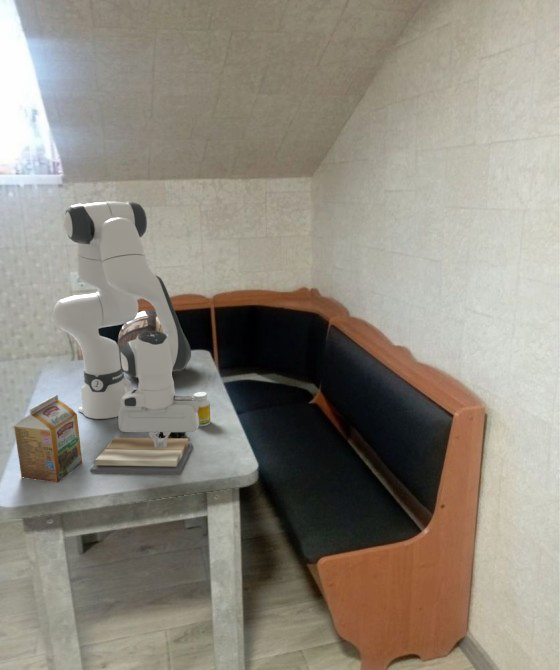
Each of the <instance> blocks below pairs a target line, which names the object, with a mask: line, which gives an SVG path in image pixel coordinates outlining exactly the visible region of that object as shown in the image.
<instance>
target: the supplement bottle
mask: <svg viewBox="0 0 560 670" xmlns="http://www.w3.org/2000/svg"><path fill="white" fill-rule="evenodd" d="M193 398H195V399H196V400H197V401H198V411H197V412H198V418H199V427H207V426H208V425H210V424H211V402H210V400H209V399H208V393H207V392H204V391H198V392H195V393H193Z"/></svg>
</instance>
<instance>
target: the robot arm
mask: <svg viewBox="0 0 560 670" xmlns="http://www.w3.org/2000/svg"><path fill="white" fill-rule="evenodd" d="M63 224H64V225H63V226H64V230H65V232H66V234H67V236H68V238H69V240H71V241H73V242H74V243H77V249H76V250H77V253H76V254H77V275H78V278H79V279H80V280H81V281H82V282H83V283H84V284H86V285H87V286H90V287H93V288H96V289H97V291H96V292H93V293H84V294H75V295H71V296H67V297H64V298H61V299H59V300H57V302H56V303H55V304H54V307H53V314H52V315H53V319H54V322H55V324H56V325H57V327H58V328H59V329H61V330H62V331H63V332H66V333H67V334H69V335H70V336H72V337H73V338H74V340H75V341H76V342H77V344H78V345H79V348H80V349H81V350H80V351H81V355H82V360H83V366H84V370H83V380H84V383H85V384H84V385H82V386H81V406H79V407H78V412H79V413H82V414H83V415H84V416H85V417H87V418H89V419H95V420H99V419H101V420H104V419H112V418H117V417H118V419H117V420H118V421H117V422H118V428H119V430H120V431H121V432H122V433H124V432H125V433H129V432H130V433H138V432H139V433H148V436H149V438H151V439H152V440H153V441H154V447H166V446H167V438H168V436H169V435H170V433H171V432H186V433H196V431H197V430H198V429H199V427H200V426H199V418H198V412H197V411H198V401H197V400H196V399H195V398H194V397H193V396H192V395H185V396H184V395H176V393H175V382H174V379H173V375H172V373H173V372H176V371H177V372H178V371H179V372H180V371H182V370H184V369H185V367H186V366H187V365H188V364H189V362H190V360H191V358H192V351H191V346H190V343H189V341H188V339H187V337H186V335H185V333H184V332H183V328H182V327H181V324H180V322H179V318H178V315H177V314H176V311H175V307H174V305H173V303H172V299H171V297H170V294H169V292H168V290H167V287H166V285H165V284H164V281H163V280H162V278H161V277H160V276H158V275H156V274H155V273H154V272H153V271H152V270H151V268H150V267H149V265H148V263H147V259H146V255H145V252H144V251H145V250H144V247H143V244H142V240H141V238H142V237H143V236H144V235H145V233H146V231H147V227H148V220H147V214H146V212H145V209H144V208H143V207H142V206H141V204H140V203H137V202H134V201H126V202H123V201H103V202H91V203H84V204H82V203H77V204H72V205H70V206H68V208H67V209H66V210H65V213H64V219H63ZM137 298H140V299H141V300H144V301H146V302H148V303H150V304H151V306H152V307H153V308H154V310H155V311H156V313H157V316H158V319H159V321H160V324H161V327H162V329H163V332H164V333H162V332H158V331H147V332H143V333H141V334H139V335H138V336H137V338H136V339H135V340H132V341H129V342H126V343H125V344H124V345H123V347H122V348H121V350H120V353H119V347H118V342H116V341H115V340H113V339H111V338H108V337H107V336H106V337H105V336H102V335H100V333H99V329H102V328H107V327H113V326H119V325H121V326H122V325H124V324H125V323H127V322H130V321H132V320H134V319H135V318H136V316H137V313H139V302H138V300H137ZM125 374H126V375H128V376H130V377H133V378H138V383H137V384H138V387H137V388H134V389H133V383H132V382H131V381H130V380H129V379H127V378H126V377H125ZM160 432H163V435H164V436H165V435H166V436H165V438H164V439H158V438H159V436H157V433H160Z"/></svg>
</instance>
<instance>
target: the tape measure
mask: <svg viewBox="0 0 560 670" xmlns="http://www.w3.org/2000/svg"><path fill="white" fill-rule="evenodd" d="M186 433H187V432H171V433H170V435H169V436H168V438H183V437H185V435H186ZM157 435H158V438H165V436H166V435H165V436H164V435H163V432H159V433H158V434H157Z"/></svg>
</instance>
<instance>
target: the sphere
mask: <svg viewBox="0 0 560 670" xmlns="http://www.w3.org/2000/svg"><path fill="white" fill-rule="evenodd" d="M147 331H158V332H162V333H164V332H163V329H162V327H161V324H160V321H159V319H158V316H157V313H156V311H155V309H154V310H153V309H152V310H142V311H140V312H139V311H138V313H137V316H136V318H135V319H134V320H132V321H130V322H127V323H124V324H122V327H121V328H120V330H119V334H118V337H117V345H118V347H119V354H120V350H121V348H122V347H123V345H124V344H125V343H126V342H129V341H132V340H135V339H136V338H137V336H138V335H139V334H141V333H143V332H147Z"/></svg>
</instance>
